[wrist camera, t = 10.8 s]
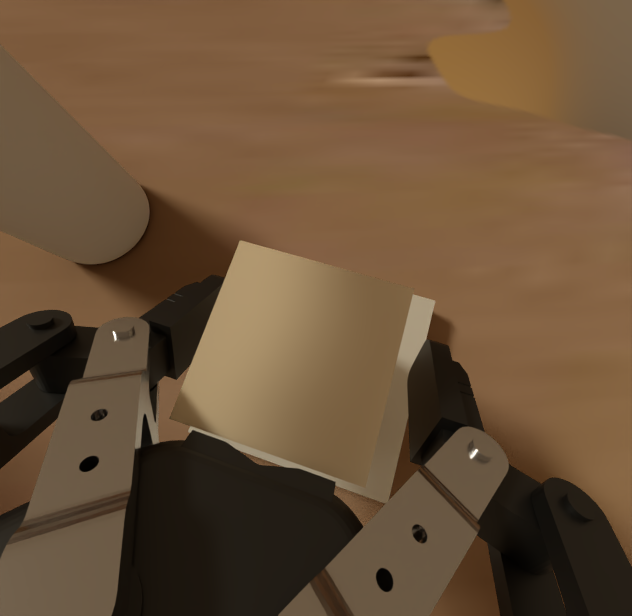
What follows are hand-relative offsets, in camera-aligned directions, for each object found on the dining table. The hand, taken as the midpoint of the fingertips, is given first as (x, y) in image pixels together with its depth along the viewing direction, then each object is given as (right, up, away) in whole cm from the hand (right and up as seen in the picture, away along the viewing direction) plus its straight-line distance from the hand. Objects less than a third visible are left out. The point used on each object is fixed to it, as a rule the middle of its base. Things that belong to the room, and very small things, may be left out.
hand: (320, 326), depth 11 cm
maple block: (0, -3, +6) cm, 7 cm away
